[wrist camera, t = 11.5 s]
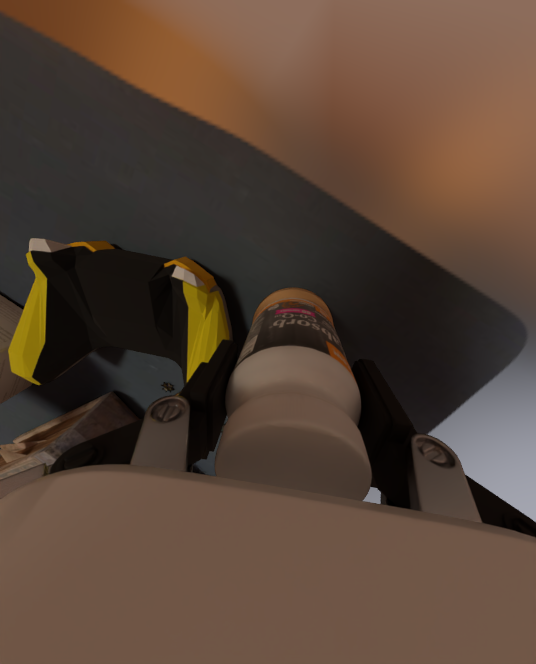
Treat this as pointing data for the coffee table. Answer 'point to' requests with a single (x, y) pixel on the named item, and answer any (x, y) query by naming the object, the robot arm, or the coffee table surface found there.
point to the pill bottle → (294, 407)
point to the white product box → (3, 322)
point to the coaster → (293, 294)
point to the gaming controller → (114, 309)
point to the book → (64, 434)
